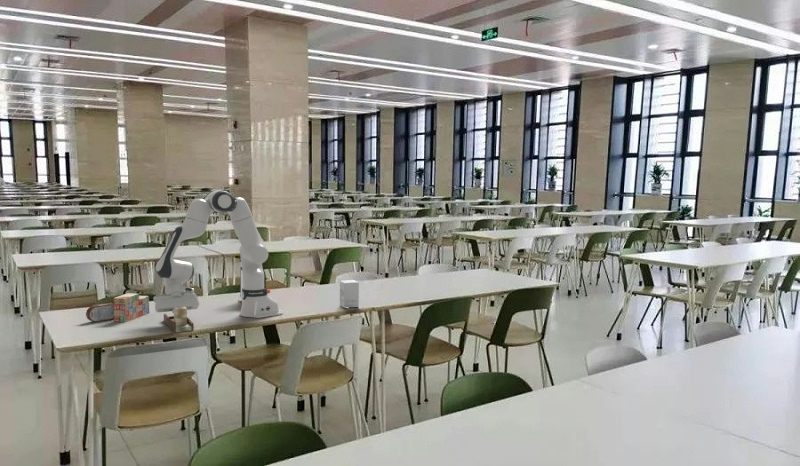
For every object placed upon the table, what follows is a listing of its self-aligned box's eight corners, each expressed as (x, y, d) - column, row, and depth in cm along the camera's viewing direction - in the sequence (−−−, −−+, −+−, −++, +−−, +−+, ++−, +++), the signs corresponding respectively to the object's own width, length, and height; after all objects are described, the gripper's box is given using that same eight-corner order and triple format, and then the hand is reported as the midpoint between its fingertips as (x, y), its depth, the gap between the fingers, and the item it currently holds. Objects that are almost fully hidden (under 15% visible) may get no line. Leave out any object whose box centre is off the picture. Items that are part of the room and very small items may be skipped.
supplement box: (354, 304, 352) (354, 279, 351) (358, 307, 344) (359, 282, 343) (339, 305, 349) (339, 280, 348) (343, 308, 341) (344, 282, 339)
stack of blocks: (138, 312, 320) (138, 289, 319) (149, 313, 319) (149, 290, 318) (113, 321, 299) (113, 297, 298) (125, 322, 298) (125, 298, 297)
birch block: (184, 322, 292) (184, 306, 291) (187, 324, 288) (186, 308, 287) (174, 323, 290) (173, 307, 289) (176, 325, 285) (175, 309, 285)
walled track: (182, 319, 308) (182, 312, 307) (193, 330, 286) (193, 323, 286) (163, 320, 303) (163, 313, 303) (173, 332, 281) (173, 325, 281)
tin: (116, 317, 308) (116, 301, 307) (119, 318, 306) (118, 302, 305) (85, 322, 296) (85, 305, 295) (88, 323, 294) (88, 306, 293)
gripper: (153, 291, 291) (157, 315, 284) (197, 288, 302) (201, 311, 294) (152, 298, 295) (155, 322, 288) (195, 295, 306) (199, 318, 299)
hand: (179, 317), depth 291 cm, fingers closed, pressing on birch block
